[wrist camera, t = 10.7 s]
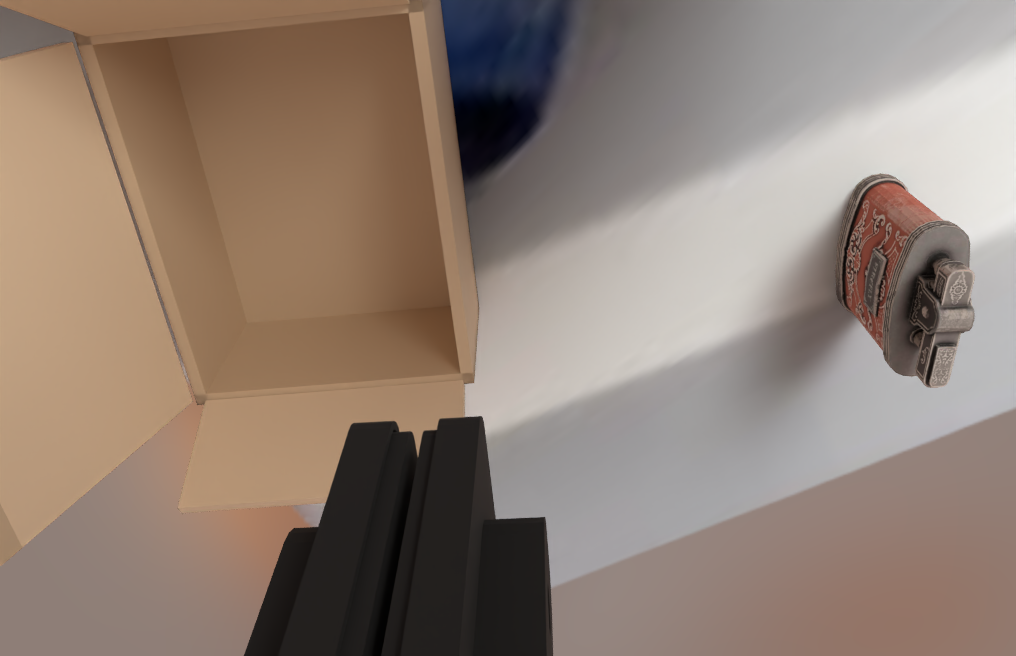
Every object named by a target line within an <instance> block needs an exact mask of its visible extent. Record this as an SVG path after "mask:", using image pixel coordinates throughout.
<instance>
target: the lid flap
mask: <svg viewBox="0 0 1016 656" xmlns="http://www.w3.org/2000/svg"><path fill="white" fill-rule="evenodd" d="M192 402H193V400H192V397H191V394H190V391H189V388H188V385H187V382H186V379H185V376H184V373H183V370H182V367H181V364H180V361H179V358H178V355H177V352H176V349H175V346H174V343H173V340H172V337H171V334H170V331H169V328H168V325H167V322H166V319H165V316H164V313H163V310H162V307H161V304H160V301H159V298H158V295H157V292H156V289H155V286H154V283H153V280H152V277H151V274H150V272H149V269H148V266H147V263H146V260H145V257H144V254H143V251H142V248H141V245H140V242H139V239H138V236H137V233H136V230H135V227H134V224H133V221H132V218H131V215H130V212H129V209H128V206H127V203H126V200H125V197H124V194H123V191H122V188H121V185H120V182H119V179H118V176H117V173H116V170H115V167H114V164H113V161H112V158H111V155H110V152H109V149H108V146H107V143H106V140H105V137H104V134H103V131H102V128H101V125H100V122H99V120H98V117H97V114H96V111H95V108H94V105H93V102H92V99H91V96H90V93H89V90H88V87H87V84H86V81H85V78H84V75H83V72H82V69H81V66H80V63H79V60H78V57H77V54H76V51H75V48H74V45H73V42H69V43H59V44H55V45H51V46H47V47H43V48H39V49H36V50H32V51H28V52H24V53H20V54H16V55H13V56H9V57H5V58H1V59H0V566H2V565H3V564H4V563H5V562H6V561H8V560H9V559H10V558H11V557H12V556H13V555H15V554H16V553H17V552H18V551H19V550H20V549H22V548H23V547H24V546H25V545H26V544H27V543H28V542H30V541H31V540H32V539H33V538H34V537H35V536H37V535H38V534H39V533H40V532H41V531H42V530H44V529H45V528H46V527H47V526H48V525H49V524H51V523H52V522H53V521H54V520H55V519H56V518H58V517H59V516H60V515H61V514H62V513H63V512H65V511H66V510H67V509H68V508H69V507H70V506H72V505H73V504H74V503H75V502H76V501H77V500H79V499H80V498H81V497H82V496H83V495H84V494H86V493H87V492H88V491H89V490H90V489H91V488H93V487H94V486H95V485H96V484H97V483H99V482H100V481H101V480H102V479H103V478H104V477H106V476H107V475H108V474H109V473H110V472H111V471H113V470H114V469H115V468H116V467H117V466H118V465H120V464H121V463H122V462H123V461H124V460H125V459H127V458H128V457H129V456H130V455H131V454H132V453H134V452H135V451H136V450H137V449H138V448H140V447H141V446H142V445H143V444H144V443H145V442H146V441H148V440H149V439H150V438H151V437H152V436H153V435H155V434H156V433H157V432H158V431H159V430H161V429H162V428H163V427H164V426H165V425H166V424H168V423H169V422H170V421H171V420H172V419H173V418H175V417H176V416H177V415H178V414H179V413H180V412H182V411H183V410H184V409H185V408H186V407H187V406H188V405H190V404H191V403H192Z"/></svg>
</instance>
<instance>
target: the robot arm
mask: <svg viewBox="0 0 1016 656" xmlns="http://www.w3.org/2000/svg"><path fill="white" fill-rule="evenodd" d="M244 656H553V636H552V607H551V585H550V569H549V555H548V542H547V530H546V520H545V517H540V518H517V519H495V510H494V502H493V494H492V486H491V477H490V469H489V461H488V453H487V444H486V436H485V428H484V422H483V418H482V416H478V417H459V418H440V419H439V421H438V426H437V430H425V431H423V434H422V438H421V444H420V449H419V455H417V450H416V444H415V439H414V435H413V433H412V432H411V431H406V432H399V427H398V425H397V423H396V422H395V421H382V422H362V423H353V424H351V426H350V428H349V431H348V434H347V437H346V440H345V443H344V447H343V450H342V453H341V456H340V459H339V463H338V466H337V469H336V472H335V475H334V479H333V482H332V485H331V488H330V491H329V495H328V498H327V501H326V504H325V507H324V511H323V514H322V517H321V520H320V524H319V527H310V528H294V529H293V530H292V531H291V532H289V534H288V536H287V538H286V540H285V542H284V544H283V547H282V550H281V553H280V556H279V558H278V561H277V564H276V567H275V570H274V573H273V576H272V578H271V581H270V584H269V587H268V589H267V592H266V595H265V598H264V601H263V604H262V606H261V609H260V612H259V615H258V618H257V621H256V623H255V626H254V629H253V632H252V635H251V637H250V640H249V643H248V646H247V649H246V652H245V654H244Z"/></svg>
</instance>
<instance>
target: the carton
mask: <svg viewBox="0 0 1016 656" xmlns="http://www.w3.org/2000/svg"><path fill="white" fill-rule="evenodd" d="M0 6H3V7H6V8H9V9H11V10H14V11H17V12H20V13H23V14H25V15H28V16H31V17H34V18H36V19H39V20H42V21H45V22H48V23H50V24H53V25H56V26H59V27H61V28H64V29H67V30H70V31H73V33H74V36H75V39H76V42H77V45H78V48H79V51H80V54H81V57H82V60H83V63H84V66H85V69H86V72H87V75H88V78H89V81H90V84H91V87H92V90H93V93H94V96H95V99H96V102H97V105H98V108H99V111H100V114H101V117H102V120H103V123H104V126H105V129H106V132H107V135H108V138H109V141H110V144H111V147H112V150H113V153H114V156H115V159H116V162H117V165H118V168H119V171H120V174H121V177H122V180H123V183H124V186H125V189H126V192H127V195H128V198H129V201H130V204H131V207H132V210H133V213H134V216H135V219H136V222H137V225H138V228H139V231H140V234H141V237H142V240H143V243H144V246H145V249H146V252H147V255H148V258H149V261H150V264H151V267H152V270H153V273H154V276H155V279H156V282H157V285H158V288H159V291H160V294H161V297H162V300H163V303H164V306H165V309H166V312H167V315H168V318H169V321H170V324H171V327H172V330H173V333H174V336H175V339H176V342H177V345H178V348H179V351H180V354H181V357H182V360H183V363H184V366H185V369H186V372H187V375H188V378H189V381H190V384H191V387H192V390H193V393H194V396H195V399H196V402H197V405H202V404H204V408H203V411H202V415H201V419H200V423H199V427H198V431H197V435H196V438H195V442H194V446H193V450H192V454H191V458H190V461H189V466H188V469H187V473H186V477H185V481H184V484H183V488H182V492H181V496H180V500H179V504H178V509H179V511H180V512H181V513H194V512H208V511H220V510H235V509H248V508H261V507H276V506H290V505H303V504H317V503H326V501H327V498H328V495H329V491H330V488H331V485H332V482H333V479H334V475H335V472H336V469H337V466H338V463H339V459H340V456H341V453H342V450H343V447H344V443H345V440H346V437H347V434H348V431H349V428H350V426H351V424H353V423H362V422H382V421H395V422H396V423H397V425H398V427H399V432H406V431H411V432H412V433H413V435H414V439H415V444H416V450H417V455H419V449H420V444H421V438H422V434H423V431H425V430H437V426H438V421H439V419H440V418H459V417H465V385H464V384H467V383H474V377H475V362H476V347H477V333H478V318H479V303H478V295H477V287H476V279H475V271H474V263H473V255H472V247H471V239H470V231H469V223H468V215H467V207H466V199H465V191H464V184H463V176H462V168H461V160H460V152H459V144H458V136H457V128H456V120H455V112H454V104H453V96H452V88H451V80H450V72H449V64H448V56H447V48H446V40H445V32H444V24H443V16H442V8H441V0H0Z"/></svg>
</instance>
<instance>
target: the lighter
mask: <svg viewBox="0 0 1016 656" xmlns="http://www.w3.org/2000/svg"><path fill="white" fill-rule="evenodd" d="M969 260H970V241H969V237H968V235H967V234H966V233H965V232H964V231H963V230H962V229H961V228H959V227H958V226H957V225H955V224H953V223H951V222H949V221H944V220H942V219H941V218H940V217H939V216H937V215H936V214H935V213H934V212H932V211H931V210H930V209H929V208H927V207H926V206H925V205H923V204H922V203H921V202H920V201H918V200H917V199H916V198H915V197H913V196H912V195H911V194H910V193H908V190H907V187H906V186H905V185H904V184H903V183H902V182H901V181H899V180H898V179H897V178H896V177H893V176H891V175H889V174H875V175H871V176H869V177H867V178H865V179H863V180H862V181H861V182H860V183H859V184H858V185H857V186H856V188H855V189H854V191H853V194H852V197H851V199H850V202H849V205H848V208H847V210H846V213H845V216H844V219H843V223H842V228H841V232H840V236H839V240H838V245H837V257H836V269H835V274H836V292H837V297H838V300H839V301H840V302H841V304H842V305H843V306H844V307H845V308H846V309H847V310H848V311H849V312H851V313H854V315H855V316H856V317H857V318H858V320H859V321H860V322H861V324H862V325H863V326H864V327H865V329H866V330H867V331H868V333H869V334H870V335H871V336H872V338H873V339H874V340H875V341H876V343H877V344H878V345H879V347H880V348H881V349H882V350H883V355H884V358H885V361H886V362H887V363H888V364H889V366H890V367H891V368H892V369H893V370H894V371H895V372H896V373H898V374H900V375H903V376H918V378H919V379H920V380H921V381H922V382H923V384H924V385H925V386H926V387H930V388H937V387H943V386H945V385H946V384H947V383H948V381H949V379H950V375H951V371H952V367H953V363H954V359H955V355H956V351H957V347H958V343H959V339H960V335H961V333H964V332H965V331H969V330H970V329H971V328H972V325H973V322H974V309H973V307H972V301H971V298H970V296H971V292H972V288H973V284H974V279H975V275H974V272H973V271H971V270H970V269H969Z"/></svg>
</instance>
